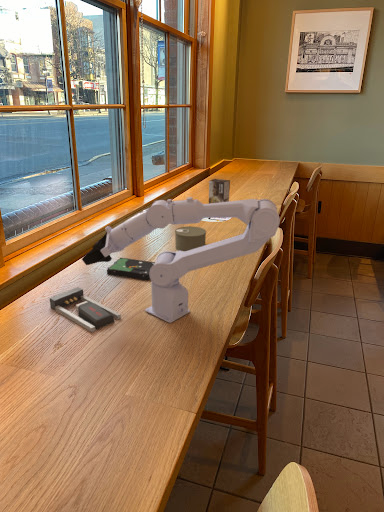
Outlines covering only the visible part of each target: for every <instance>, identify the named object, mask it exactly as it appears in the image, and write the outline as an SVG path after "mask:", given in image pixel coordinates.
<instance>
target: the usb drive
mask: <svg viewBox="0 0 384 512" xmlns="http://www.w3.org/2000/svg"><path fill="white" fill-rule="evenodd" d="M75 311H77V312H78V317H79V318H81V319H83V320H85V321H86V322H88V323H90V324H91V325H93V326H95V330H99V329H101V328H103V327H104V328H105V327H106V326H108V325H110V324H113V323H115V318H114V317H113V316H112V315H111V314H110V313H108V312H107V311H105V310H104V309H103V308H101V307H100V306H98V305H97V304H95V303H92V302H87V301H85V302H84V301H82V302H80V303H78V304H77V303H76V304H75Z"/></svg>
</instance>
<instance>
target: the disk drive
mask: <svg viewBox="0 0 384 512" xmlns="http://www.w3.org/2000/svg"><path fill="white" fill-rule="evenodd" d="M155 262H156V261H150V260H149V261H147V260H140V259H134V258H133V259H132V258H127V257H120V258H118V259H117V260H116V261H114V262H113V263H112V264H111V265H109V267H107V268H106V275H110V276H115V277H116V276H117V277H121V278H128V279H133V280H135V279H136V280H142V281H150V280H151V279H150V276H149V272H150V269H151V267H152V266H153V265H154V263H155Z"/></svg>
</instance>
